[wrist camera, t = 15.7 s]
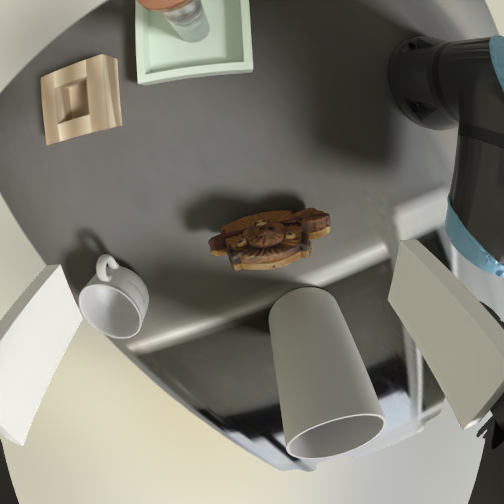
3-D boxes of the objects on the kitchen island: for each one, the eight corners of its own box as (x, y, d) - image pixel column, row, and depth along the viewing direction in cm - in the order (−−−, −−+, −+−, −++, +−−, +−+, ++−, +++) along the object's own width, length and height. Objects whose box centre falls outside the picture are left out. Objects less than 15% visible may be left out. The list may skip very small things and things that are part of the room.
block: (117, 59, 30) (102, 54, 25) (122, 125, 34) (107, 128, 30) (59, 78, 30) (40, 77, 25) (65, 139, 34) (47, 145, 30)
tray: (246, -16, 26) (247, -25, 23) (251, 72, 32) (253, 69, 29) (143, -1, 26) (135, -9, 22) (146, 85, 32) (137, 83, 29)
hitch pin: (215, 9, 27) (200, -50, 12) (217, 45, 30) (201, -1, 15) (172, 15, 27) (132, -36, 12) (173, 51, 30) (130, 14, 15)
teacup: (151, 315, 49) (140, 347, 42) (96, 301, 48) (80, 329, 41) (158, 248, 43) (144, 275, 36) (95, 233, 42) (73, 257, 35)
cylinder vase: (261, 294, 48) (278, 431, 26) (334, 277, 47) (392, 401, 25) (275, 345, 54) (293, 465, 32) (338, 329, 53) (380, 442, 31)
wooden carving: (317, 191, 41) (340, 216, 32) (323, 219, 43) (345, 251, 34) (207, 222, 42) (199, 254, 33) (217, 249, 44) (212, 286, 35)
